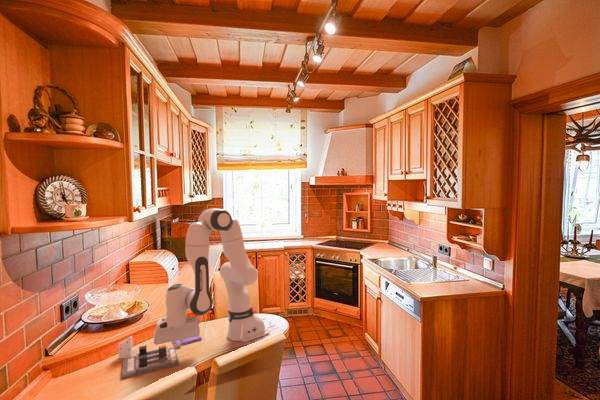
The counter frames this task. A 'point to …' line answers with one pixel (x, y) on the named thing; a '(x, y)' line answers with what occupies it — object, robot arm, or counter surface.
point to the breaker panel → (148, 361)
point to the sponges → (189, 340)
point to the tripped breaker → (162, 351)
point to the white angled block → (126, 348)
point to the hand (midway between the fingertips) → (177, 349)
